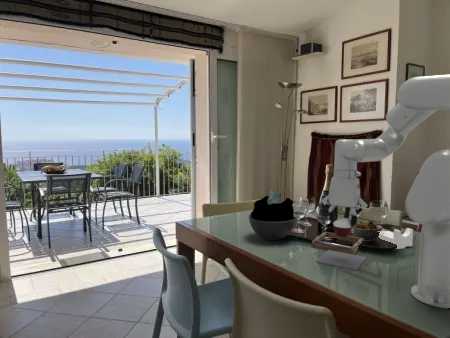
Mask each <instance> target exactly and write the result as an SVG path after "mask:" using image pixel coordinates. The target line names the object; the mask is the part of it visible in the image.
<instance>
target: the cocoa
mask: <svg viewBox="0 0 450 338" xmlns="http://www.w3.org/2000/svg"><path fill="white" fill-rule="evenodd" d="M344 210H345V211H344V216H343V217H342V218H338V219H335V221H334V222H333V223H332V225H333V226H332V229H333V233H335V234H336V235H337V236H339V237H347V236H351V235H350V234H351V233H352V229H353V227H352V226H351V218H350V213H351V208H350V207H345V209H344Z"/></svg>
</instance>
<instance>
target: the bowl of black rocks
mask: <svg viewBox="0 0 450 338" xmlns="http://www.w3.org/2000/svg"><path fill="white" fill-rule="evenodd" d="M269 197H270V196H268V195H266V196H263V197H262V198H260V199H257V200H255V202H253V208H252V211H251V212H250V214H249V215H248V221H249V224H250V227H251V228H252V230H253V231H254V233H255V234H256V235H257V236H259V237H260V238H262V239H264V240H266V241H267V240H268V241H277V240H278V241H279V240H281V239H283V238H285V237H287V236H288V235H289V234H290V233H291V232H292V231H293V229H294V227H295V225H296V220H297V218H296V216H295V215H294V212H295V211H294V200H292V199H291V197H285V200H283V201H281V203H280V204H279V203H272V204H270V205H269V204H268V199H269Z"/></svg>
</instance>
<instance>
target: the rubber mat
mask: <svg viewBox="0 0 450 338" xmlns="http://www.w3.org/2000/svg"><path fill="white" fill-rule="evenodd" d="M366 260H367V256H362V255H356V254H354V255H352V254H347V253H342V252H337V251H332V250H326V251H325V252H324V253H323V254H321V256H319V257H318V258H317V259H316V260H315V262H316V263H317V264H318V263H319V264H324V265H328V266H332V267H338V268H341V269H346V270H351V271H355V272H357V271H359V269H360V268H361V266H362V265H363V264H364V262H366Z"/></svg>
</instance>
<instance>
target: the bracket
mask: <svg viewBox="0 0 450 338" xmlns="http://www.w3.org/2000/svg"><path fill="white" fill-rule="evenodd" d="M379 232H380V233H379V236H378V237H379V238H380V239H382V240H385V241H388V242H391V243H393V244H396V245H397V248H396V249H397V250H401V249H406V247H412V246H413V241H414V229H412V228H409V227H406V228H405V231H404V233H402V231H401V230H399V229H393V231H391V230H383V231H382V230H381V231H379Z"/></svg>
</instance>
